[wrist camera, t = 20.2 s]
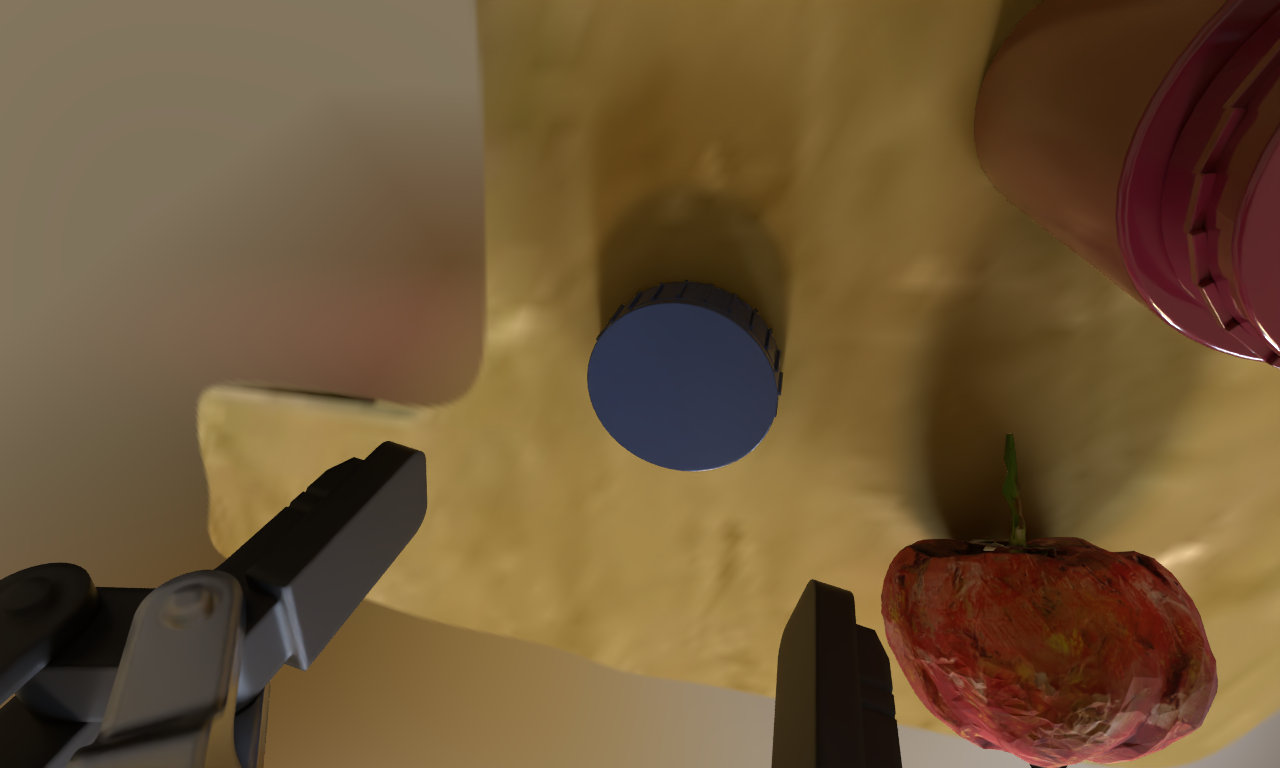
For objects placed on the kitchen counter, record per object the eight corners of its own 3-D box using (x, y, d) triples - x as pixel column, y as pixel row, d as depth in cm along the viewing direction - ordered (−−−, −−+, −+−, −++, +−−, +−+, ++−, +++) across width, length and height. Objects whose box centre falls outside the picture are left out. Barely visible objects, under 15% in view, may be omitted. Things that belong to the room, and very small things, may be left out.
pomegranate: (858, 432, 21) (848, 727, 20) (934, 412, 14) (927, 873, 13) (1081, 448, 20) (1087, 759, 19) (1287, 437, 13) (1320, 938, 12)
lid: (736, 467, 21) (730, 500, 19) (582, 399, 21) (564, 427, 19) (816, 326, 17) (816, 352, 16) (634, 249, 18) (617, 267, 16)
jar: (943, 208, 15) (1093, 391, 7) (1022, -53, 12) (1420, -252, 4) (1185, 231, 14) (1694, 481, 6) (1330, -48, 11) (2655, -302, 3)
